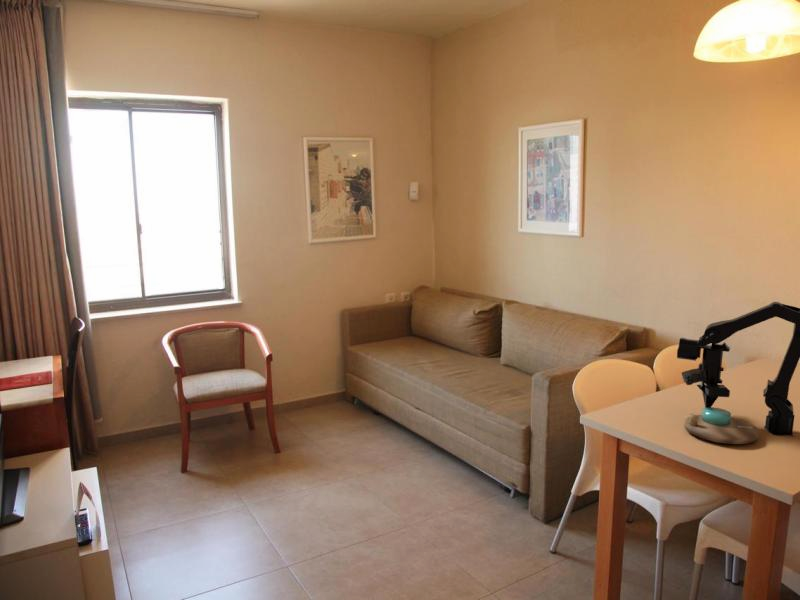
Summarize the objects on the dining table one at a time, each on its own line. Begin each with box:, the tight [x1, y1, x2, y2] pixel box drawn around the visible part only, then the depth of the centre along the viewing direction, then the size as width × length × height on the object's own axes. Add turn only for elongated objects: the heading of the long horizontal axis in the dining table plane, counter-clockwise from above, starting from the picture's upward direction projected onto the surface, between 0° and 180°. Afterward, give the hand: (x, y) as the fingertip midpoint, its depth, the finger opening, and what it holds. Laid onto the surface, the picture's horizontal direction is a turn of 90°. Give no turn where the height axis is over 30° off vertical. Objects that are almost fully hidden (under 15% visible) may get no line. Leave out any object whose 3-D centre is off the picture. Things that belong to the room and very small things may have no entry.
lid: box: [701, 406, 732, 426], centre depth 197 cm, size 8×8×3 cm
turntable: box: [684, 413, 759, 445], centre depth 192 cm, size 20×20×4 cm
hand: (707, 408), depth 205 cm, fingers closed
